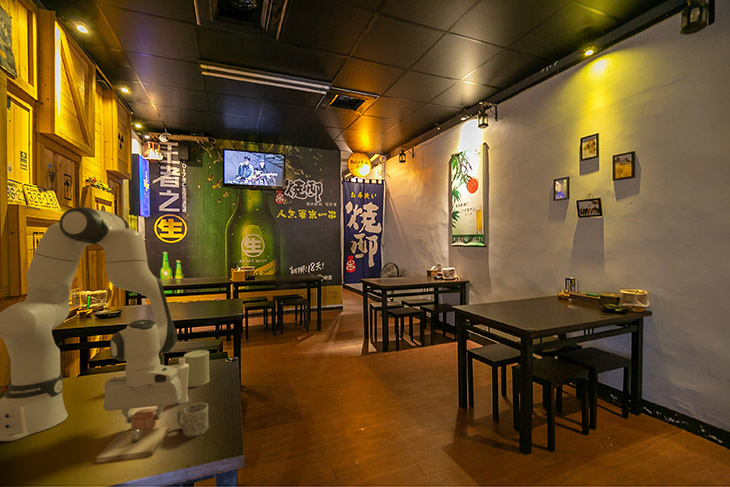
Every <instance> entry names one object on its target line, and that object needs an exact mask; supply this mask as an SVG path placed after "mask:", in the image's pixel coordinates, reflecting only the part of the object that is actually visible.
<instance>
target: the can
mask: <svg viewBox="0 0 730 487" xmlns="http://www.w3.org/2000/svg"><path fill="white" fill-rule="evenodd" d="M183 358H185V364H189V367H188V388H195V387H200V386H204V385H206V384H208V383H209V382H210V381H211V379H210V351H209V350H206V349H205V350H204V349H200V350H193V351H188V352H186V353H185V354H184V355H183Z"/></svg>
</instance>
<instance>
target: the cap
mask: <svg viewBox="0 0 730 487" xmlns="http://www.w3.org/2000/svg"><path fill="white" fill-rule="evenodd" d="M156 412H157V411H155V410H154V409H153V408H151V407H150V408H148V407H147V408H144V409H140V410H137V411H136V412H134V414H133V415H134V416H133V417H132V418H131V423H130V424H131V425H130V428H131V429H130V431H132V430H133V429H137V428H139V430H145V429H154V428H156V426H157V421H158V420H154V414H155V413H156Z"/></svg>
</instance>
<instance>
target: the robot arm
mask: <svg viewBox="0 0 730 487" xmlns="http://www.w3.org/2000/svg"><path fill="white" fill-rule="evenodd" d="M143 237H144V236H143V235H142V233H140V231H138V230H136V229H134V228H133V229H132V228H130V225H129V223H128V222H127V220H126V219H124V217H122V216H121V215H118V214H116V213H112V212H109V211H105V210H103V209H94V208H90V207H85V206H83V207H82V206H80V207H79V206H78V207H72V208H69V209H68V210H65V211H64V212H63V213H62V215H61V216H60V218H59V222H56V223H53V224H51V225H50V226H49V227H48V228H47V229H46V230H45V232H44V234H43V235H42V236H41V238H40V240H39V242H38V244H37V245H36V249H35V251H34V253H33V256H32V259H31V262H30V264H29V266H28V269H27V271H26V275H25V280H26V282H27V295H26V298H25V300H24V301H20V302H17V303H14V304H12V305H10V306H8V307H6V308H4V309H3V310H2V311H0V338H1V339H2V340H3V342H4V344H5V346H6V350H7V352H8V355H9V359H10V360H9V361H10V380H11V381H10V383H8V384H6V385H5V386H3V387H1V388H0V390H1V391H0V393H2V392H5V393H4V394H3V397H1V398H0V442H12V441H17V440H19V439H21V438H24V437H27V436H29V435H32V434H35V433H38V432H39V433H40V432H43V431H45V430H47V429H50V428H53V427H55V426H57V425H59V424H61V423H62V422H64V421H65V420H67V418H68V417H69V414H68V411H67V409H66V407H65V406H66V405H65V404H64V397H63V388H64V387H63V386H64V384H63V383H64V382H63V381H64V380H63V373H62V372H61V350H60V348H59V347H58V346H57V345H56V343H55V342H56V341H55V340H54V336H53V333H52V332H53V329H54V328H56V327H59V326H60V325H61V324H63V322H64V321H66V320H67V318H68V317H69V316H70V312H71V306H70V300H71V299H70V298H71V289H72V285H73V280H74V278H75V275H76V272H77V269H78V267H79V264H80V260H81V258H82V255H83V252H84V251H85V249H86V248H87V247H88V246H90V245H95V246H101V247H102V248H103V250H104V253H105V270H106V271H105V272H106V276H107V277H106V278H107V280H108V281H109V283H111V284H112V285H113V286H115V287H116V288H118V289H120V290H123V291H127V292H133V293H135V294H140V295H142V296H144V297H146V298H147V299H148V301H149V304H150V307H151V311H152V314H153V317H154V319H153V320H152V319H137V320H134V321H131V322H129V323H128V324H127V326H126V328H124V329H122V330H119V331H117V332H116V333H114V334H113V335H112V337H111V338H110V340H109V345H110V346H109V352H110V356H111V358H113V359H115V360H116V361H120V362H123V361H125V362H126V363H125V364H126V365H125V376H119V377H115V376H114V377H110V378H109V379H107V380H106V381H105V383H104V385H103V386H104V388H103V389H104V392H105V393H104V399H103V409H104V410H105V411H106V412H110V411H111V412H113V411H120V410H121V414H122V415H123V417H125V421H126V424H131V418H132V417H133V416H134V414H132V413H131V411H130V410H132V409H139V408H140V409H141V408H148V407H150V408H151V407H157V409H158V411H155V412H156V413H155V414H154V420H157V421H160V420H161V419H162V412H163V410H164V409H165V407H166V406H169V405H176V404H178V403H177V402H178V401H179V400H180V398H181V396H182V392H181V384H180V380H179V378H178V377H177V376H176V375H177V372H178V370H177V368H174V367H173V366H168V365H161V364H160V359H159V354H160V353H161V354H165V353H168V352H170V351H171V350H172V349H173V348H174V347H175V345H176V344H177V342H178V333H177V330H176V327H175V325H174V324H175V323H174V322H173V320H172V316H171V313H170V309H169V305H168V301H167V297H166V294H165V290H164V287H163V285H162V282H161V280H160V278H159V277H158V276H156V275H154V274H153V272H151V270H150V268H149V264H148V256H147V255H148V254H147V250H146V245H145V241H144V240H145V239H144V238H143Z"/></svg>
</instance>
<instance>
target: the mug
mask: <svg viewBox="0 0 730 487" xmlns="http://www.w3.org/2000/svg"><path fill="white" fill-rule="evenodd" d="M176 413H177V414H176V420H177V421H176V422H177V424H178V425H179V426H180V427H182V432H183V436H184V437H188V438H194V437H198V436H201V435H202V434H205V433H206V432H207V431H208V430H209V404H208V403H206V402H197V403H192V404H189V405H187V406H186V407H184V408H179V409H177V412H176Z"/></svg>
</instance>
